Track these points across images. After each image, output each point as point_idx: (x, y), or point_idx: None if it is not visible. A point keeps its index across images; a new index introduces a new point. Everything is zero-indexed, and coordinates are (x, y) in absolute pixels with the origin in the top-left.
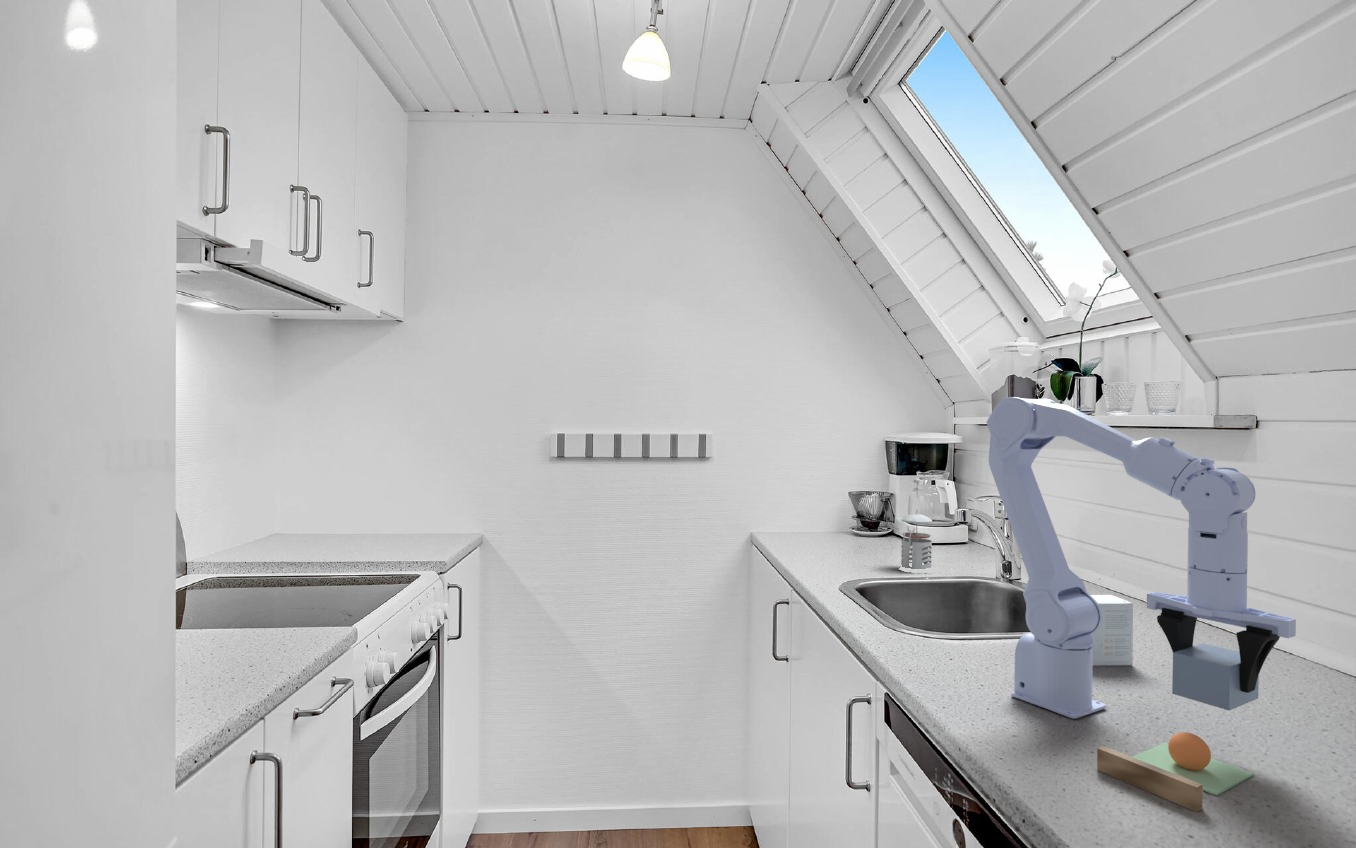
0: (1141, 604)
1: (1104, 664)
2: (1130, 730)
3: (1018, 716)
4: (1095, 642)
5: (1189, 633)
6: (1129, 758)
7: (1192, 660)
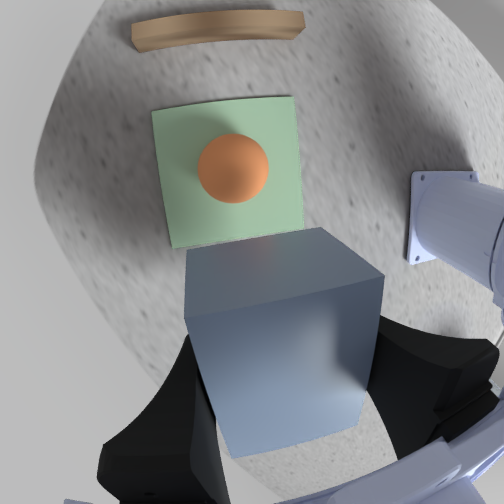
0: None
1: None
2: (356, 222)
3: (443, 113)
4: None
5: (392, 408)
6: (251, 16)
7: (317, 285)
